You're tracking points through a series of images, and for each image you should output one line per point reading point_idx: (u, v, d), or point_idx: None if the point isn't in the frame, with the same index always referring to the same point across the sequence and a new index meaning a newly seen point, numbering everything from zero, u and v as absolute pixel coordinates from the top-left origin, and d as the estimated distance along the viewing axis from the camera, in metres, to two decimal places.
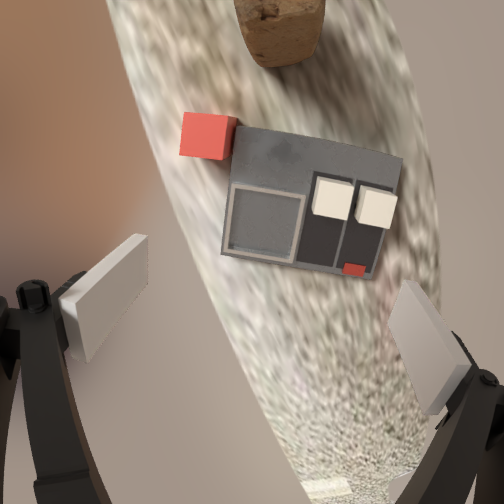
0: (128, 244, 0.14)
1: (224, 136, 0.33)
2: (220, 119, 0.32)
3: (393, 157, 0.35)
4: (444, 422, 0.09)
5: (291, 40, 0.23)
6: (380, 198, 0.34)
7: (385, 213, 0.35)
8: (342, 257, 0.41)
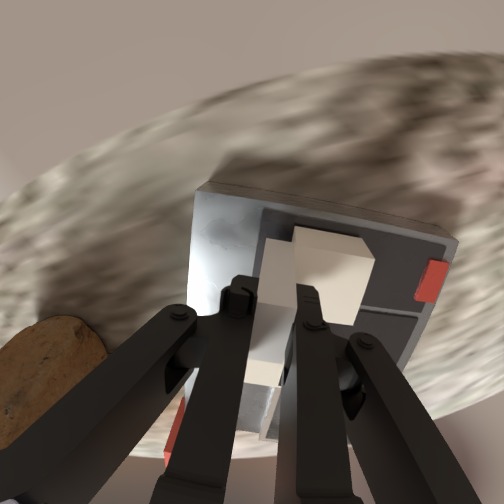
0: (271, 248, 0.16)
1: None
2: (169, 456, 0.23)
3: (195, 212, 0.18)
4: (284, 379, 0.10)
5: None
6: None
7: (336, 273, 0.15)
8: (404, 304, 0.19)
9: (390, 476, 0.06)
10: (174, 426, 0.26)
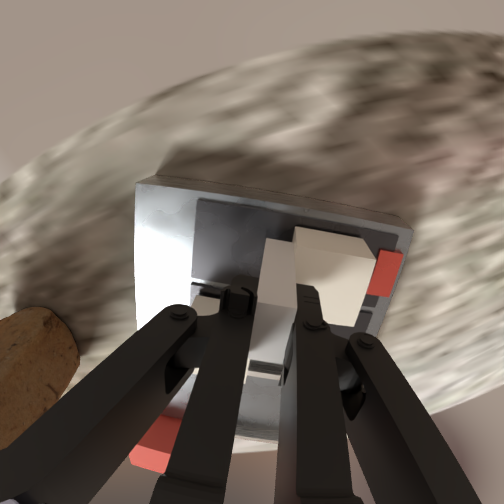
0: (271, 248, 0.16)
1: (148, 448, 0.23)
2: None
3: (137, 204, 0.18)
4: (284, 379, 0.10)
5: None
6: None
7: (337, 274, 0.15)
8: None
9: (390, 476, 0.06)
10: None
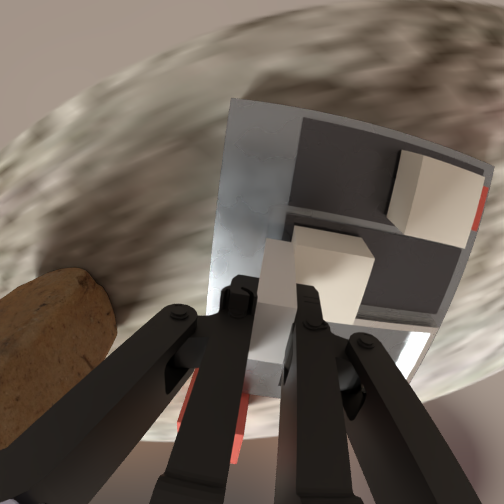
0: (271, 248, 0.16)
1: None
2: None
3: (230, 121, 0.16)
4: (284, 379, 0.10)
5: (20, 406, 0.12)
6: (425, 200, 0.13)
7: (455, 188, 0.13)
8: None
9: (390, 476, 0.06)
10: (189, 393, 0.23)
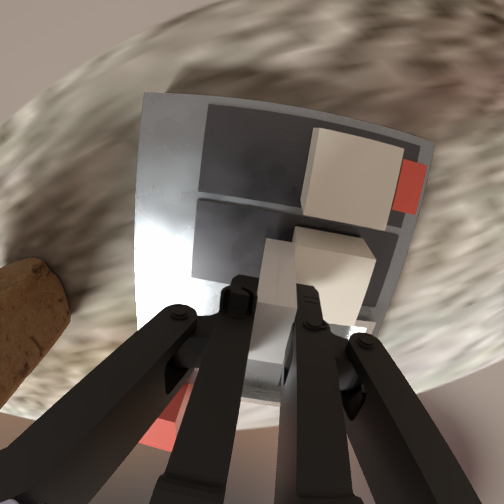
0: (271, 248, 0.16)
1: None
2: None
3: (144, 114, 0.16)
4: (284, 379, 0.10)
5: None
6: (325, 177, 0.13)
7: (364, 162, 0.13)
8: None
9: (390, 476, 0.06)
10: None
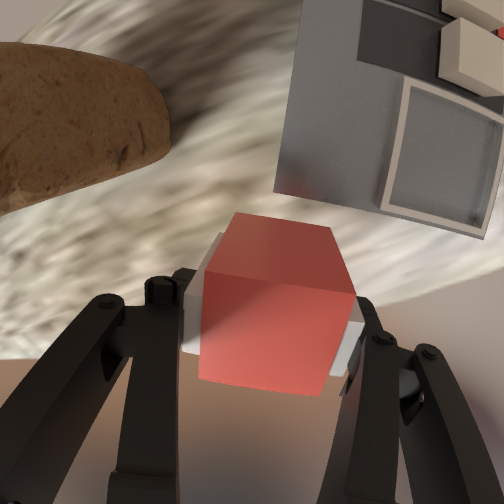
0: None
1: (276, 284, 0.10)
2: (218, 295, 0.10)
3: None
4: (347, 389, 0.10)
5: (57, 95, 0.10)
6: None
7: None
8: None
9: (433, 479, 0.06)
10: (226, 238, 0.13)
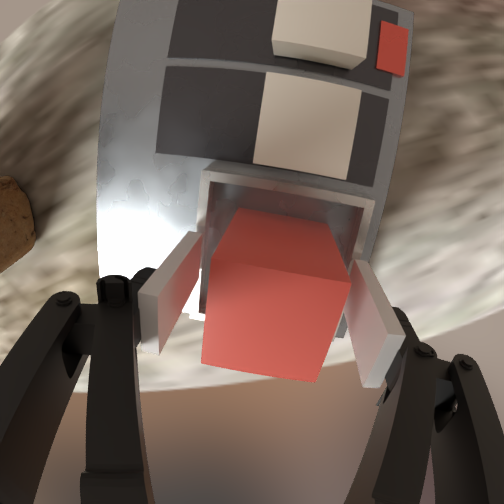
0: (187, 241, 0.15)
1: (277, 272, 0.11)
2: (223, 281, 0.11)
3: (122, 0, 0.13)
4: (384, 398, 0.10)
5: None
6: (293, 5, 0.10)
7: None
8: (363, 74, 0.14)
9: (457, 485, 0.05)
10: (231, 230, 0.14)
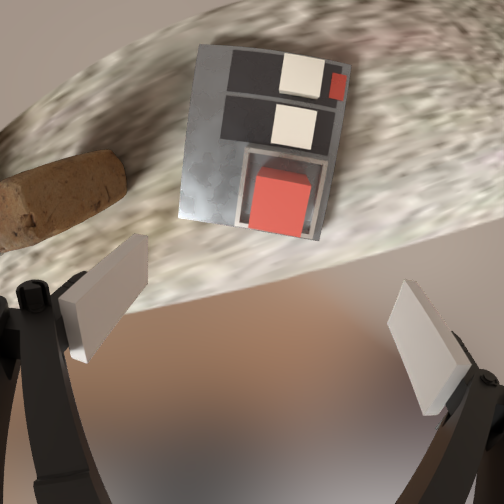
0: (128, 244, 0.14)
1: (281, 181, 0.28)
2: (260, 185, 0.28)
3: (198, 54, 0.30)
4: (444, 422, 0.09)
5: (66, 187, 0.26)
6: (288, 73, 0.27)
7: (305, 66, 0.27)
8: (322, 101, 0.31)
9: (494, 500, 0.04)
10: (261, 171, 0.31)
